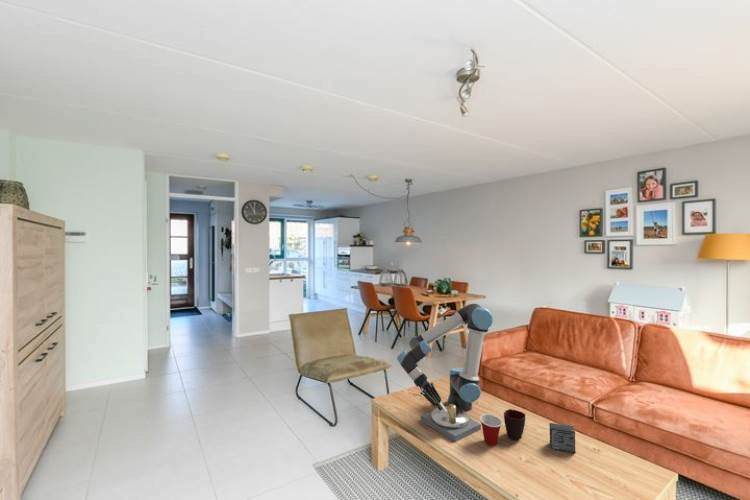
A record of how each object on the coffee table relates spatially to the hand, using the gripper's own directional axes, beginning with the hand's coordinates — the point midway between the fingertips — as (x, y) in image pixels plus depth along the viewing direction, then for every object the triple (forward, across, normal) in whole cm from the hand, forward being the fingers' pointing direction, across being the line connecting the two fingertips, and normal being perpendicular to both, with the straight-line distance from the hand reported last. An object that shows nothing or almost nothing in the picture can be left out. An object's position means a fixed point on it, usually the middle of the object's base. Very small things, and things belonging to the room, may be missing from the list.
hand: (446, 414), depth 186 cm
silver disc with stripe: (+4, -8, -5) cm, 10 cm away
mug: (+29, -16, +16) cm, 37 cm away
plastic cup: (+23, -2, +9) cm, 25 cm away
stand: (+6, -8, -7) cm, 12 cm away
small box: (+44, -16, +31) cm, 57 cm away
